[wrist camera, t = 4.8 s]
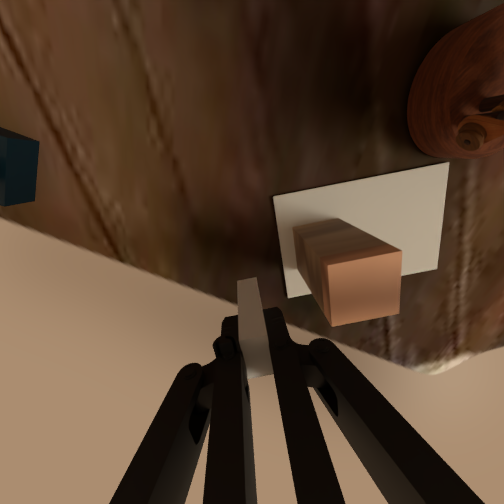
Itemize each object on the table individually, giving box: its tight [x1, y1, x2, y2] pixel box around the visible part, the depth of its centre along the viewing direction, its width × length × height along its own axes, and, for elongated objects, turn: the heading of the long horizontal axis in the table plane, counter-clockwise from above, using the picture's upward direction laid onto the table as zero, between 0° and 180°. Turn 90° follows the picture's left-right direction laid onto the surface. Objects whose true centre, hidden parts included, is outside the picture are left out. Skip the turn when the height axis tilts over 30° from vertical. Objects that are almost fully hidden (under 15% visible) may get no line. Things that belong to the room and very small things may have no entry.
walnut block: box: [292, 218, 402, 327], centre depth 21 cm, size 5×5×10 cm
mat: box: [273, 162, 449, 298], centre depth 26 cm, size 12×18×1 cm, turn 100°
